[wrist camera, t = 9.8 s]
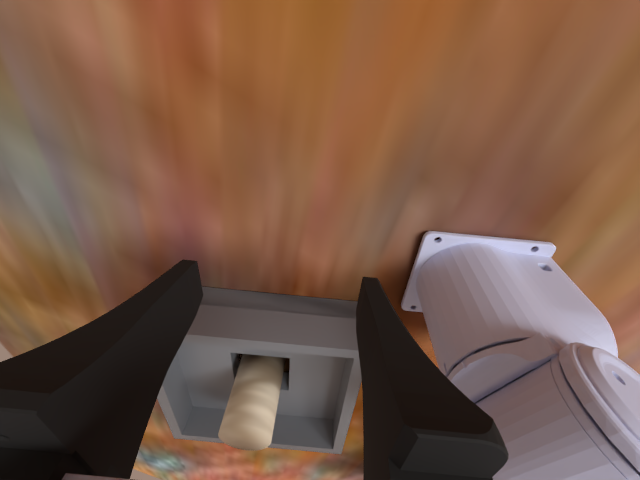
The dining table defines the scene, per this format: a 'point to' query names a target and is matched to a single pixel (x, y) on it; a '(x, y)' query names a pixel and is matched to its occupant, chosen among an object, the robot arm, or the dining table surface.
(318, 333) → the box
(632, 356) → the dining table surface
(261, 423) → the peg
